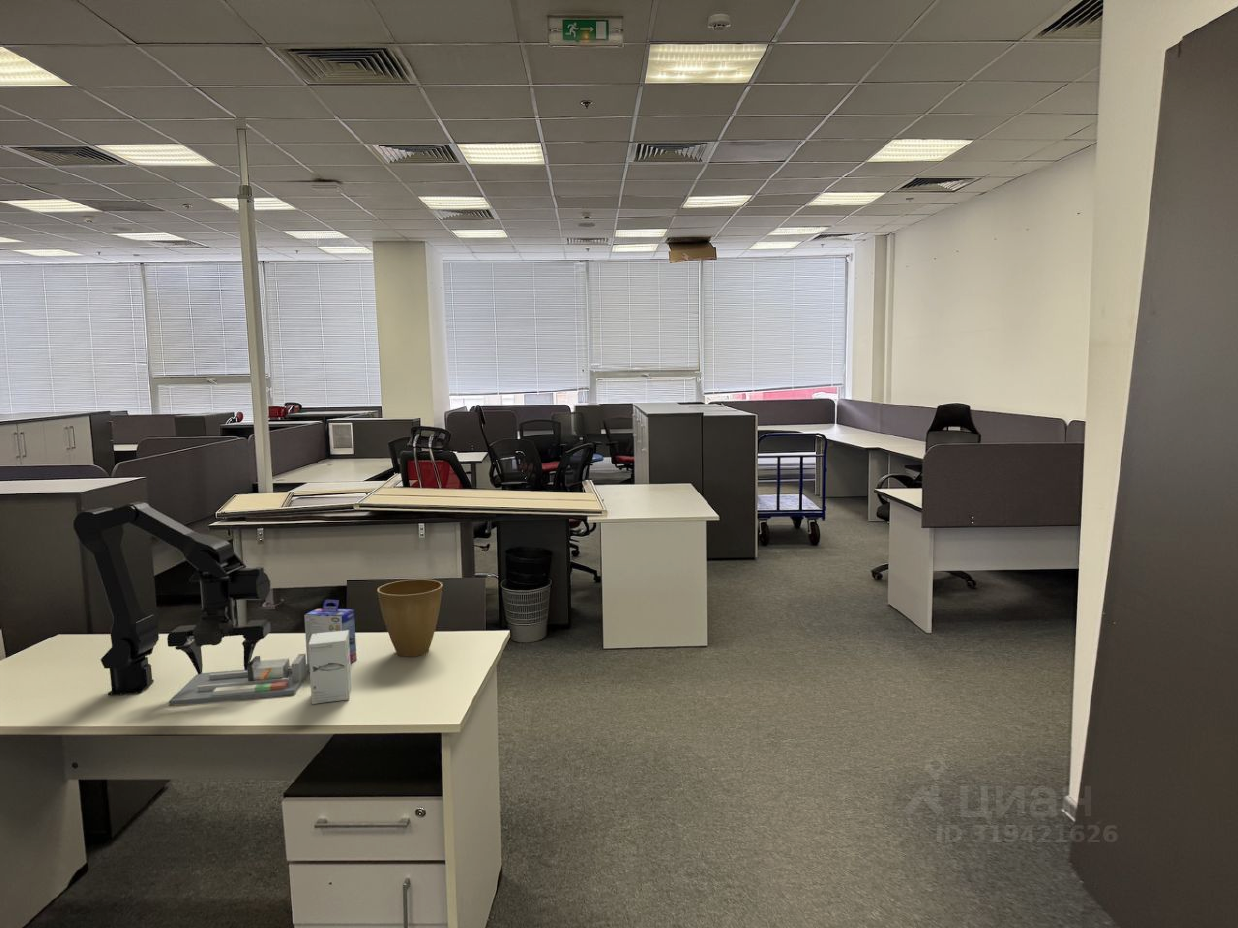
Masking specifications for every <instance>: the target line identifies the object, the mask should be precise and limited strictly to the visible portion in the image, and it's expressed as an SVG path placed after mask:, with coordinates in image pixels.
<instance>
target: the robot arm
mask: <svg viewBox="0 0 1238 928" xmlns="http://www.w3.org/2000/svg"><path fill="white" fill-rule="evenodd" d="M127 524H130V525H133V526H135V527H136V528H138V529H140V530H141V531H144V532H145V533H148V535H151V536H153V537H154V538H157V539H158V540H160V541H162V542H163V543H165V544H167V545H169V546H171V547H173V548H175V549H176V550H178V551H179V552H180V553H181V554H182V555H183V557H184V559H185V560H186V561H187V562H188V563H189V564H190V565H192V566H193V567H194V568H195V569H196V571H195V572H194V574H193V575H191V576H190V577H189V578H188V580H189V582H199V584H200V596H201V597H200V598H201V606H202V608H201V609H199V610H200V612H199V614H200V616H199V621H198V622H197V623H196V624H188V625H186V624H185V625H179V626H177V627H176V628H174V629H173V630H172V631H170V632H169V633H168V634H167V639H166V640H167V646H168V647H169V648H171V647H173V648H175V650H177V651H178V650H180V651H182V652H183V653H185V654H186V655H187V657H188V658H189V659H190V661H191V663H192V665H193V667H194V668H195V670H196V674H201V673H203V666H204V665H203V655H202V654H203V653H202V647H203V646H217V645H220V643H222V642H223V641H222V640H223V638H225V637H237V636H242V638H243V639H244V640H243V641H242V642H241V645H242V647H243V670H247V665H248V664H249V663H250V662H251V661H252V659H253V654H254V651H255V648H256V645H257V644H258V643H259V642H260V641H261V640H264V639H265V638H266V637H267V636H268V635H269V634H270V632H271V631H272V630H271V623H270V621H269V620H268V619H254V620H249V622H247V623H246V624H245V625H240V626H238V625H237V618H235V615H234V613H235V612H234V611H235V610H234V607H235V606H236V604H235V603H236V602H235V601H264V600H266V599H267V598H268V596H269V594H270V590H271V580H270V579H269V576H268V574H267V573H266V572H265V570H264V567H263V566H256V567H251V568H250V567H249V568H248V567H247V566H246V564H245V563H244V562H243V561H242V560H241V558H240V557H239V556H238V554H237V553H236V552H235V551H234V549H233V545H232V544H231V543H230V542H229V541H228V540H225V539H222V538H221V537H217V536H215V535H209V534H204V533H199V532H197V531H194V530H193V529H191V528H189V527H187V526H185V525H183V524H182V523H180V522H178V521H176V520H174V519H173V518H171V517H169V516H167V515H166V514H163V513H162V512H160V511H159V510H156V508H153V507H151V506H150V505H149V503H147V502H144V501H136V502H132V503H127V504H124V505H123V506H121V507H116V508H113V507H109V506H104V507H99V508H95V509H90V510H87V511H82V512H80V513H78V514H77V515H76V517H75V518H74V520H73V522H72V528H73V531H74V532H75V535H76V536H77V538H78V540H79V542H80V545H82V546H83V547H84V548H85V549H87V550H88V551H89V552H90V553H91V554H92V555H93V558H94V562H95V564H96V567H97V571H98V574H99V577H100V580H101V583H102V586H103V589H104V592H105V595H106V598H107V602H108V604H109V607H110V612H111V615H112V618H113V621H112V624H111V625H112V626H111V629H110V642H111V647H110V649H108V651H106V652H105V654H104V655H103V656H102V657H101V658H100V662H101V664H102V666H103V668H104V669H109V674H110V685H111V690H109V692H108V693H107V696H109V695H110V696H121V695H129V694H131V695H132V694H141V693H143V692H144V691H145V690H146V689H147V688H149V686H150V685H152V684H153V683H154V682H155V680H154V679H153V672H152V665H151V664H150V663H149V658H148V656H150V655H151V654H153V650H154V647H156V645H157V643H158V641H159V640H160V636H159V633H160V632H161V629H160V628H159V626H158V624H157V618H156V616H155V614H150V615H149V616H148V615H147V614H145V612H143V611H142V609H141V607H140V605H139V602H138V598H137V595H136V592H135V589H134V585H133V583H132V579H131V577H130V574H129V570H128V567H127V564H126V561H125V557H124V554H123V551H122V547H121V545H122V541H123V536H124V525H127ZM227 565H228V566H227ZM224 566H225V567H224ZM236 625H237V626H236ZM120 694H121V695H120Z"/></svg>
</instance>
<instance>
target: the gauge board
mask: <svg viewBox="0 0 1238 928" xmlns="http://www.w3.org/2000/svg"><path fill="white" fill-rule="evenodd" d="M309 674H310V664H307V654H306V653H299V654H297V656H296V658H295V659H294V660H293V661H292V663H291V665H290V673H289V674H288V675H287V677H286V678H281V679H269V680H258V681H248V672H247V670H244V669H237V670H234V669H233V670H224V671H223V670H222V671H212V672H210V671H209V672H202V673H201V674H198V673H196V674H195V675H194V677H192V678H191V679H190V680H189V681H188V682H186V684H185V685H184V686H183V687H182V688H181V689H180V690H178V691H177V693H176V694H174V696H173V697H171V698H170V700H169V701H168V705H169V706H170V707H173V706H181V705H182V706H183V705H193V704H195V705H196V704H204V703H214V702H215V703H217V702H228V701H238V700H249V699H250V700H251V699H261V698H270V697H283V696H294V695H296V694H297V692H298V690H299V689H300V687H301V686H302V684H303V682H304V681H305V680H306V678H307V676H308V675H309Z"/></svg>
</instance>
